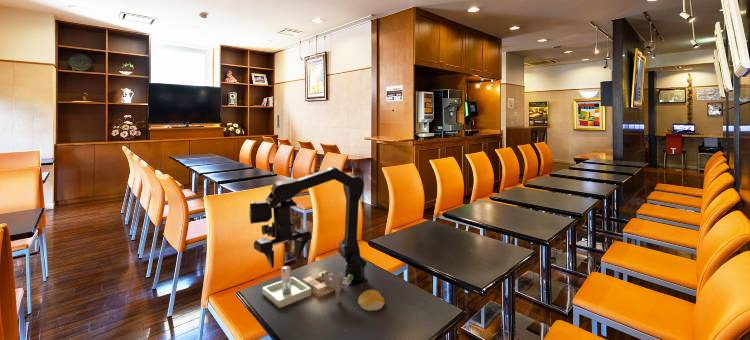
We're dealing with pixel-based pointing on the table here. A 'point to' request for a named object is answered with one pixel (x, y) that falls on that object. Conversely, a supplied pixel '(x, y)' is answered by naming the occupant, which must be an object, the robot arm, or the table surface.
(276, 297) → the parts tray
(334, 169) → the robot arm
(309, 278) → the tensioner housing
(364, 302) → the bread roll
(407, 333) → the table surface
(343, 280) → the mechanical component
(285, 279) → the pin
